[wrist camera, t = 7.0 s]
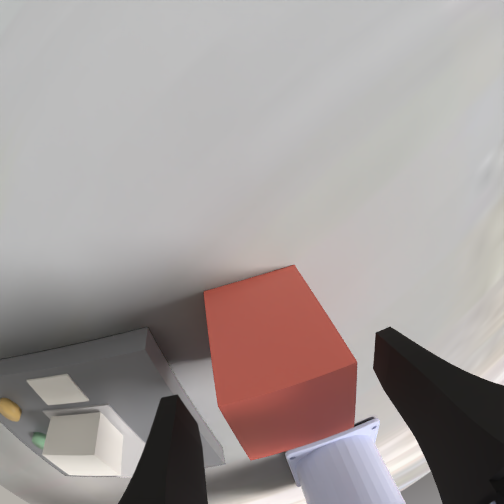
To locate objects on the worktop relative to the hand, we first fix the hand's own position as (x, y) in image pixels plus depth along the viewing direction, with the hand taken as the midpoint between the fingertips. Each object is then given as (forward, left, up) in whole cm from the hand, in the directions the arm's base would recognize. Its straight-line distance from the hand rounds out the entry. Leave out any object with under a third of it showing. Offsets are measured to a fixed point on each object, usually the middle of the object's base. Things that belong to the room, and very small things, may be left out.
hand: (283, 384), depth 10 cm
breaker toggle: (-4, +11, -3) cm, 12 cm away
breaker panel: (-5, +12, -4) cm, 14 cm away
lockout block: (0, 0, -4) cm, 4 cm away
